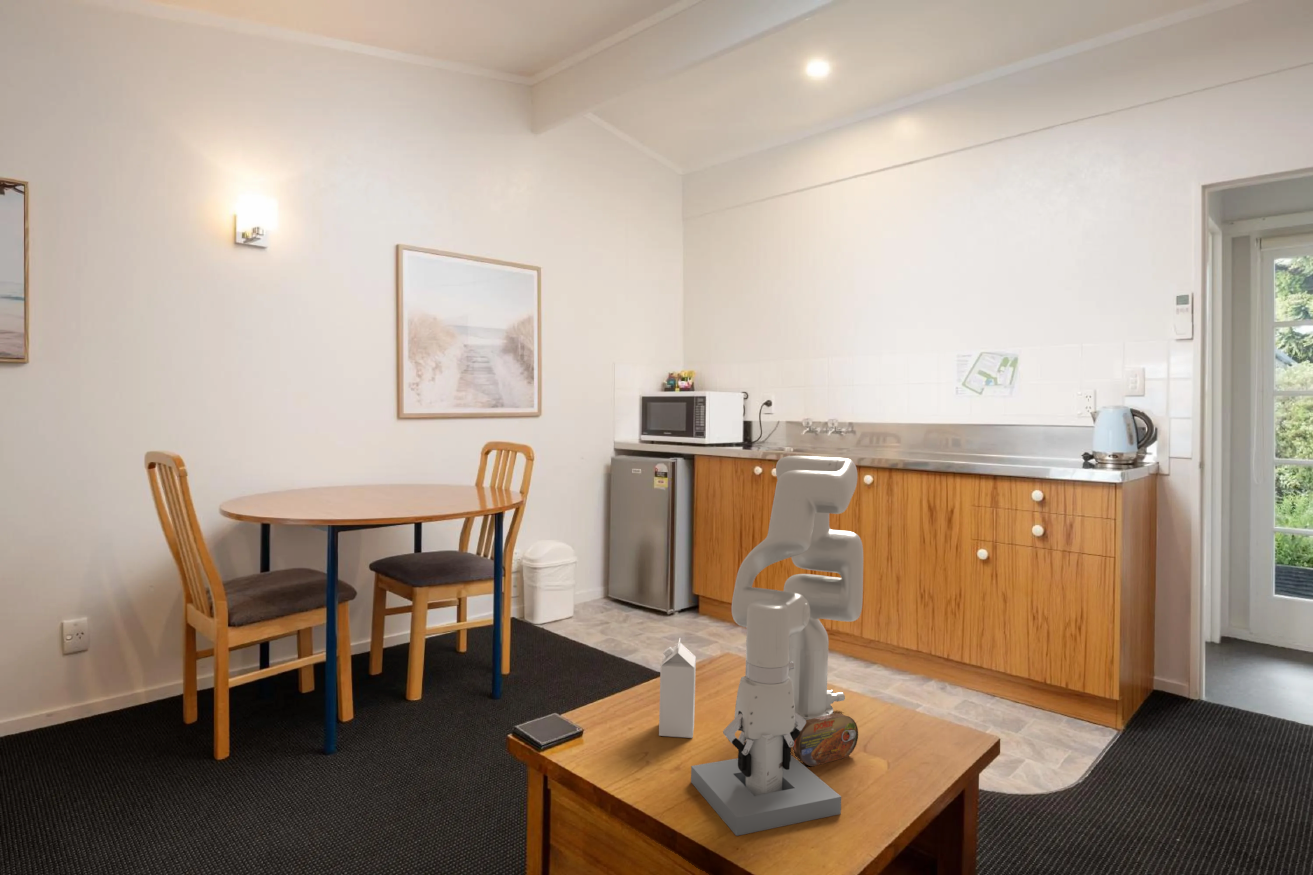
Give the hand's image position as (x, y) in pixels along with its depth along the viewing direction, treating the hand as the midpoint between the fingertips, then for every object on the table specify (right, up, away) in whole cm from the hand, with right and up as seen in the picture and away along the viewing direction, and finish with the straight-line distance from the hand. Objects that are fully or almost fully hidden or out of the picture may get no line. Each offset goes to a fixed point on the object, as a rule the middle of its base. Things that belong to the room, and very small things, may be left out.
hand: (764, 768), depth 129 cm
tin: (+14, -5, +15) cm, 21 cm away
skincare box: (0, -5, 0) cm, 5 cm away
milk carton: (-15, -4, +26) cm, 30 cm away
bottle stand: (0, -5, 0) cm, 5 cm away
